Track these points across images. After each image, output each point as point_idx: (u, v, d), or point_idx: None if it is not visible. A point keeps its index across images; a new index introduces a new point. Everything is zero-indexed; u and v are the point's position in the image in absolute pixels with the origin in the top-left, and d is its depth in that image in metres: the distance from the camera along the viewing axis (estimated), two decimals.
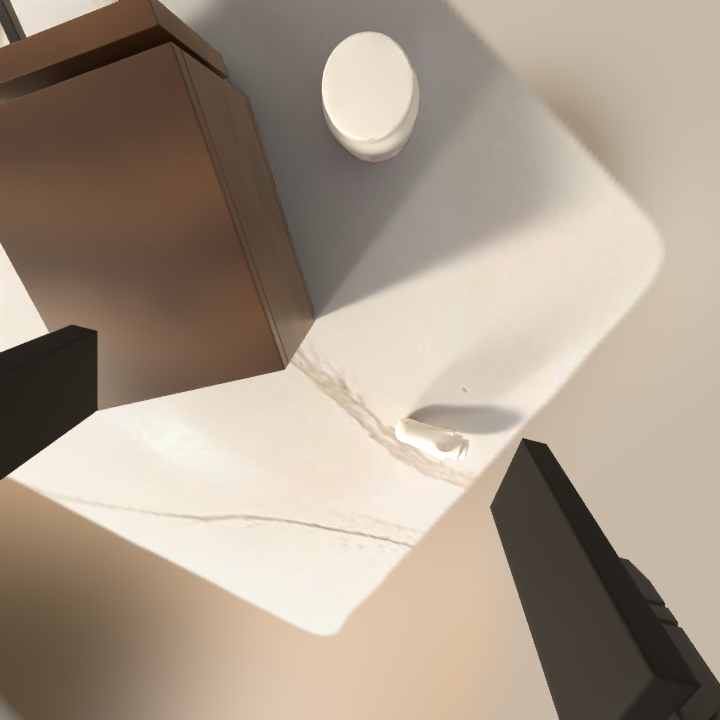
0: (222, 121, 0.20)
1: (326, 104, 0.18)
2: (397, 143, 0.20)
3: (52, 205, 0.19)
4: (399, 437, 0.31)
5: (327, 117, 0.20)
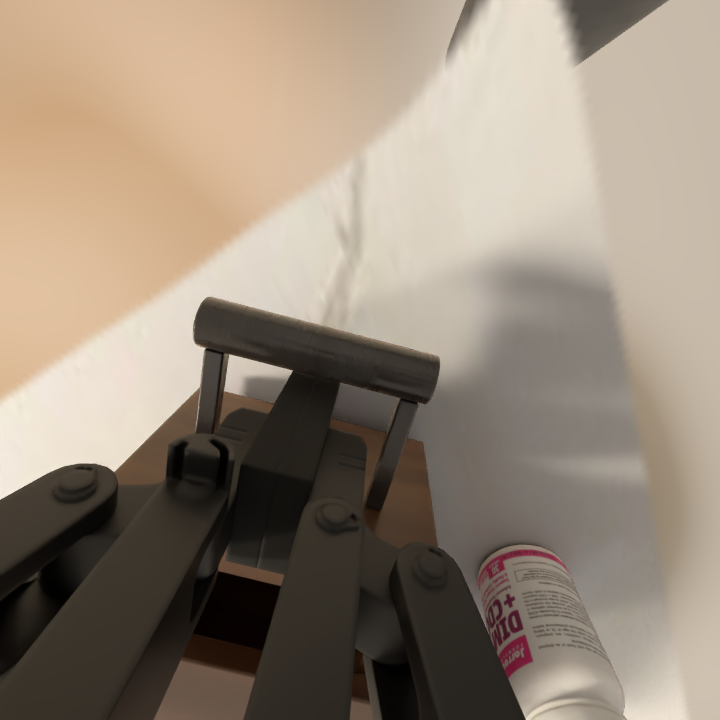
0: None
1: None
2: None
3: None
4: None
5: None
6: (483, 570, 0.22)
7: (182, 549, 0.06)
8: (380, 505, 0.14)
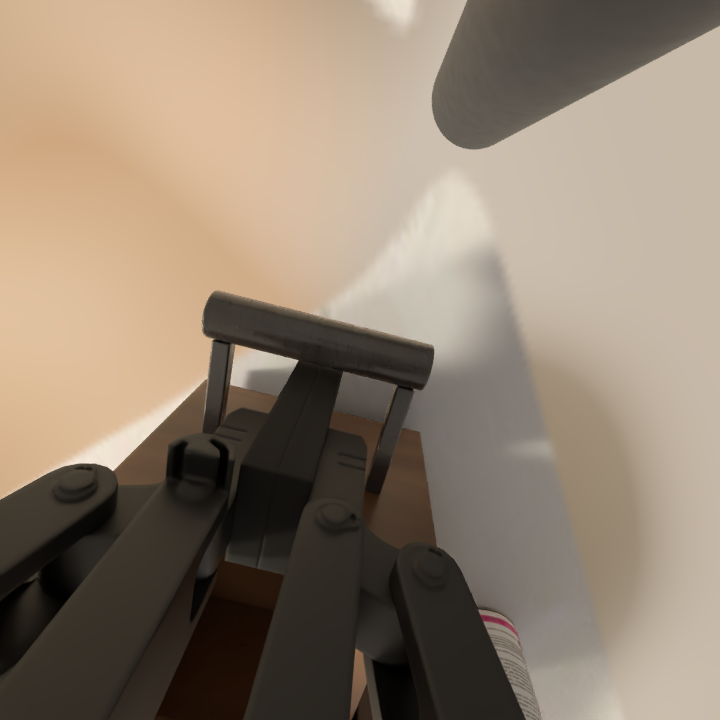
0: None
1: None
2: None
3: None
4: None
5: None
6: None
7: (182, 549, 0.06)
8: (379, 488, 0.14)
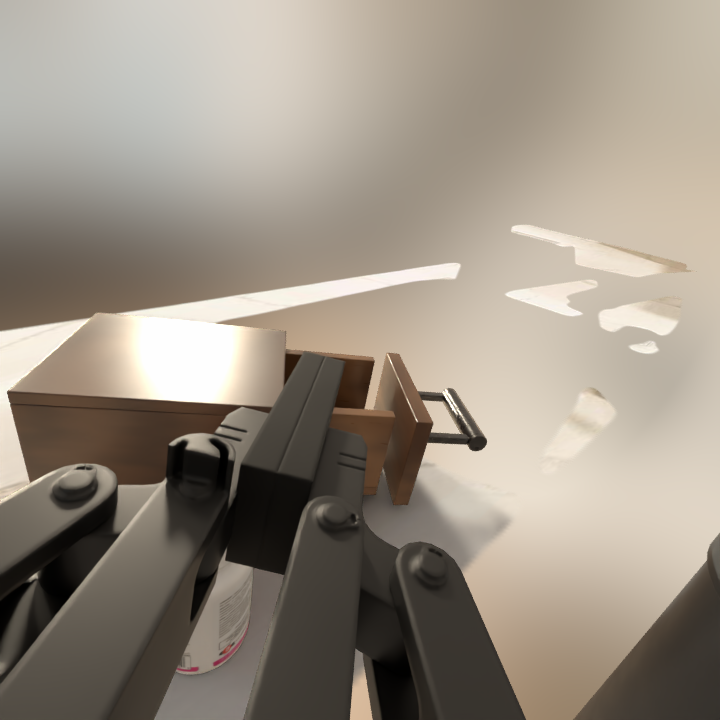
0: None
1: None
2: None
3: (228, 343, 0.31)
4: None
5: None
6: None
7: (182, 549, 0.06)
8: None
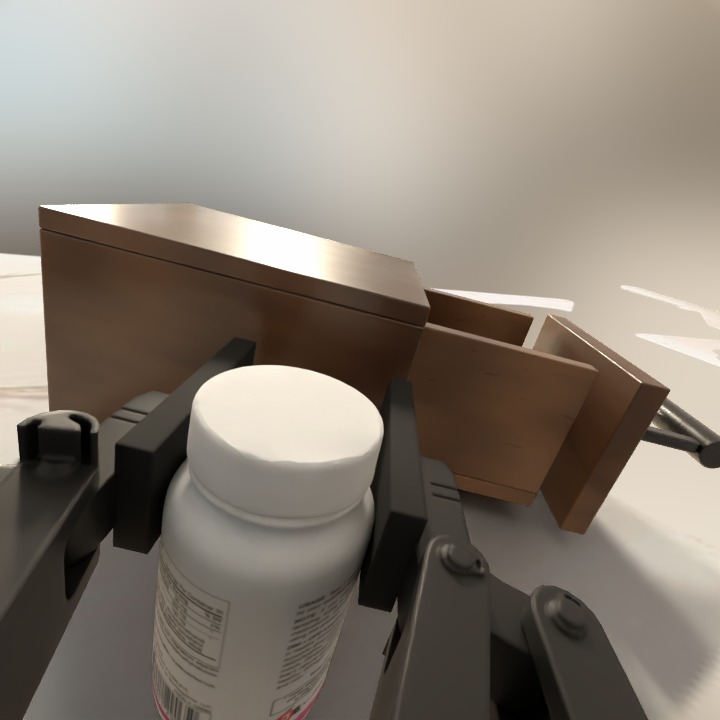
0: (348, 368, 0.16)
1: None
2: (166, 496, 0.09)
3: (342, 251, 0.22)
4: None
5: None
6: None
7: (42, 525, 0.06)
8: None
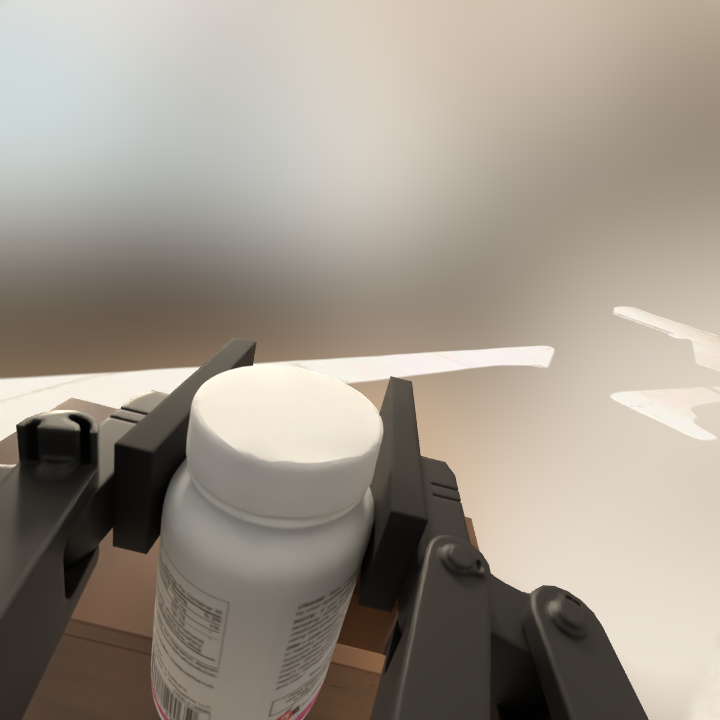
0: None
1: None
2: (165, 496, 0.09)
3: None
4: None
5: None
6: None
7: (41, 525, 0.06)
8: None
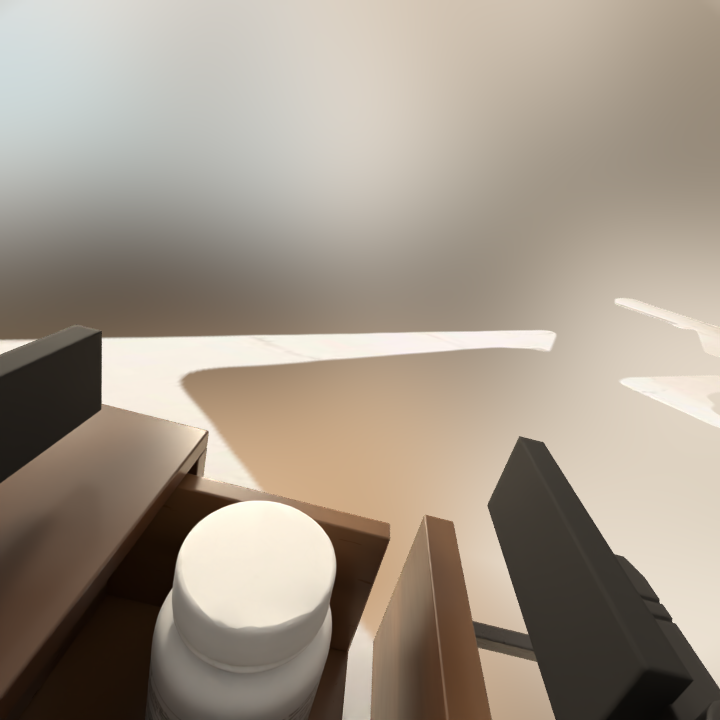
0: None
1: (275, 502, 0.12)
2: (155, 629, 0.10)
3: None
4: None
5: None
6: None
7: None
8: None
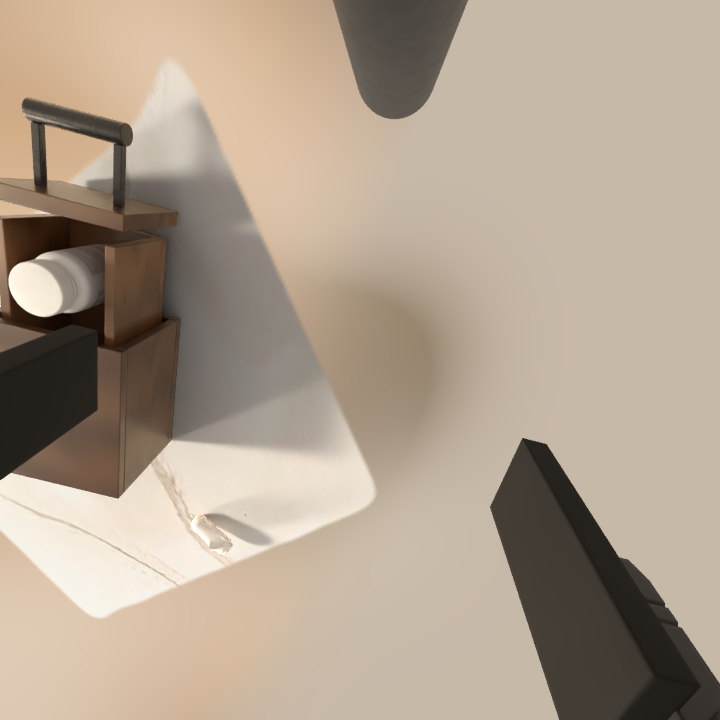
0: (143, 365, 0.35)
1: (9, 285, 0.29)
2: (72, 312, 0.32)
3: None
4: None
5: None
6: None
7: None
8: (119, 203, 0.31)
